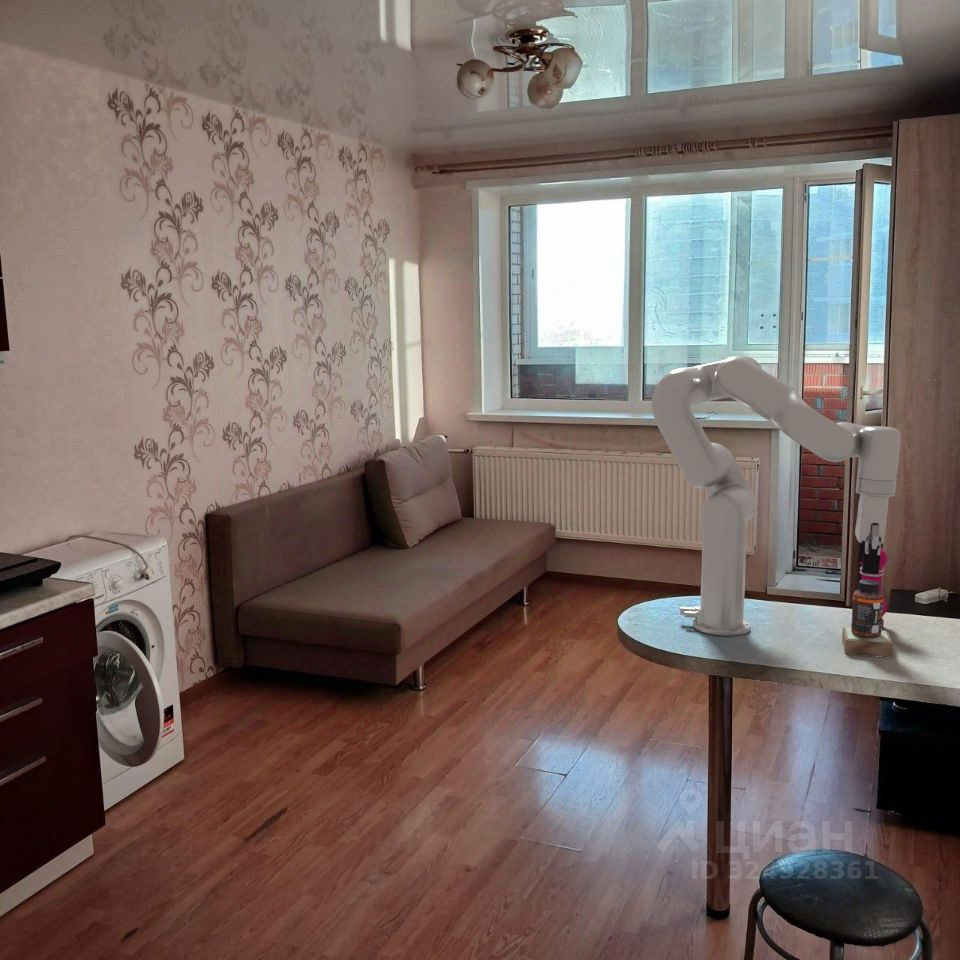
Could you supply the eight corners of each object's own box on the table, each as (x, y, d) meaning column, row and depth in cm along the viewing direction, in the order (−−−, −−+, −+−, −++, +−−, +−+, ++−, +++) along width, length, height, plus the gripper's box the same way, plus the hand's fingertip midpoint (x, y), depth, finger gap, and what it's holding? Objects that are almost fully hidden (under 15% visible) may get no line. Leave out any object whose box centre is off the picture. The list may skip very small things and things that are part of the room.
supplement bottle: (884, 639, 200) (887, 586, 198) (853, 637, 201) (856, 584, 199) (878, 630, 205) (881, 578, 204) (848, 629, 207) (851, 577, 205)
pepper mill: (888, 631, 215) (894, 544, 212) (854, 629, 217) (859, 542, 213) (882, 622, 222) (887, 537, 219) (848, 620, 224) (854, 535, 220)
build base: (845, 654, 200) (845, 639, 200) (841, 640, 209) (842, 626, 208) (891, 658, 198) (892, 643, 197) (886, 644, 206) (887, 630, 206)
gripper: (853, 479, 207) (845, 556, 210) (859, 492, 191) (851, 576, 194) (890, 481, 205) (882, 559, 208) (900, 495, 189) (892, 580, 192)
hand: (867, 567), depth 201 cm, fingers open, 9 cm apart
